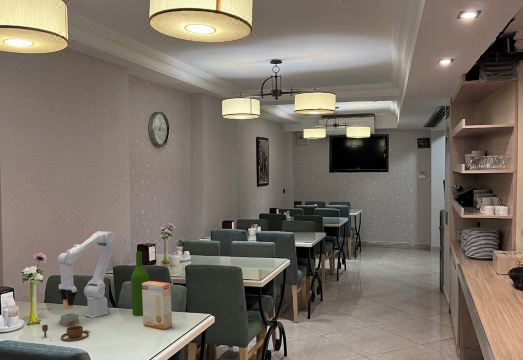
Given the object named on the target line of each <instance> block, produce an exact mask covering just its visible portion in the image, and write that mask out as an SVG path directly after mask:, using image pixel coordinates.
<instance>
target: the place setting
mask: <svg viewBox="0 0 523 360" xmlns="http://www.w3.org/2000/svg"><path fill="white" fill-rule="evenodd" d="M83 327H84V326H83V325H73V326H69V327H66V333H63V334H62V335H61V336H60V339H61V340H62V341H63V342H69V343H71V342H78V341H82V340H84V339H86V338H89V336H90V334H92V332H91V331H90V330H89V329H87V330H86V329H85V330H84V328H83ZM41 330H42V332H44V333H43V337H44V338H47V332H48V331H49V326H48V324H43V325H42V326H41ZM83 334H84V336H82V335H83ZM66 337H68V338H66ZM49 341H50V342H51V341H52V339H50V340H49Z"/></svg>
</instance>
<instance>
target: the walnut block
mask: <svg viewBox="0 0 523 360" xmlns="http://www.w3.org/2000/svg"><path fill="white" fill-rule="evenodd" d="M80 320H81V319H79V318H78V320H75V321H71V322H68V323H66V322H63V321H61V319H60V320H58V323H59V326H62V327H64V328H69V327H72V326H78V325H79V324H80Z"/></svg>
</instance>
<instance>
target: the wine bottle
mask: <svg viewBox="0 0 523 360" xmlns="http://www.w3.org/2000/svg"><path fill="white" fill-rule="evenodd" d="M142 253H143V252H142V251H139V250H138V251H136V252H135V264H136V265H135V267H134V270H133V271H132V274H131V276H130V285H131V308H132V315H133V316H136V317H143V299H142V283H144V282H148V281H150V280H149V277H150V276H149V273H148V272H147V270H146V268H145V267H144V266H143V254H142Z"/></svg>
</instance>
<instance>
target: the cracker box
mask: <svg viewBox="0 0 523 360" xmlns="http://www.w3.org/2000/svg"><path fill="white" fill-rule="evenodd" d="M171 291H172V290H171V283H170V282H162V281H154V280H152V281H151V280H149V281H148V282H144V283H142V299H143V316H142V317H143V318H142V319H143V321H142V322H143V324H142V325H143V326H144V327H147V328H149V327H150V328H153V329H159V330H162V331H163V330H167V329H169V328H172V327H173V318H172V317H173V315H172V296H171V295H172V292H171Z"/></svg>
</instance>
